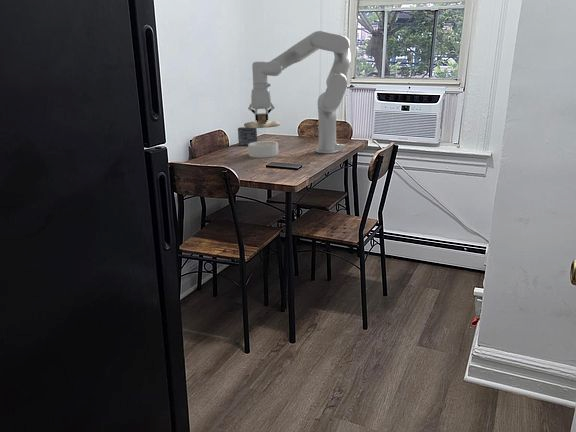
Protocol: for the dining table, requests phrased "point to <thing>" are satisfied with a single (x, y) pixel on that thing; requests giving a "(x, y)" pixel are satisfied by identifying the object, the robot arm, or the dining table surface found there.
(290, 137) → the dining table surface
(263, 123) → the lid
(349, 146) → the dining table surface
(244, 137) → the small box
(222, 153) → the dining table surface
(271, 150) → the bowl
